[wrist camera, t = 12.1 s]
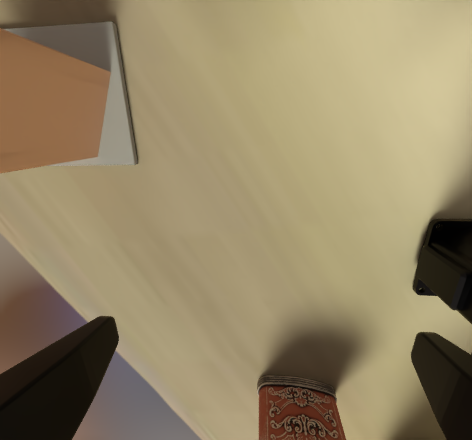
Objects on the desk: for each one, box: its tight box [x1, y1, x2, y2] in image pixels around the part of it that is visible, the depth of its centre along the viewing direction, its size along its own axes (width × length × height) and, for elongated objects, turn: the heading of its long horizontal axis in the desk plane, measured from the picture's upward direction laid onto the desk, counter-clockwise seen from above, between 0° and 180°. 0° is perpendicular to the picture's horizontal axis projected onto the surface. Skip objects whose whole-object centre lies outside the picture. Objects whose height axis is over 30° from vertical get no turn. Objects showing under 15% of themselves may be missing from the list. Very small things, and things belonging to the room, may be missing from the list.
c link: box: [0, 28, 111, 173], centre depth 13 cm, size 6×6×9 cm
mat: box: [3, 22, 138, 166], centre depth 18 cm, size 9×9×1 cm
